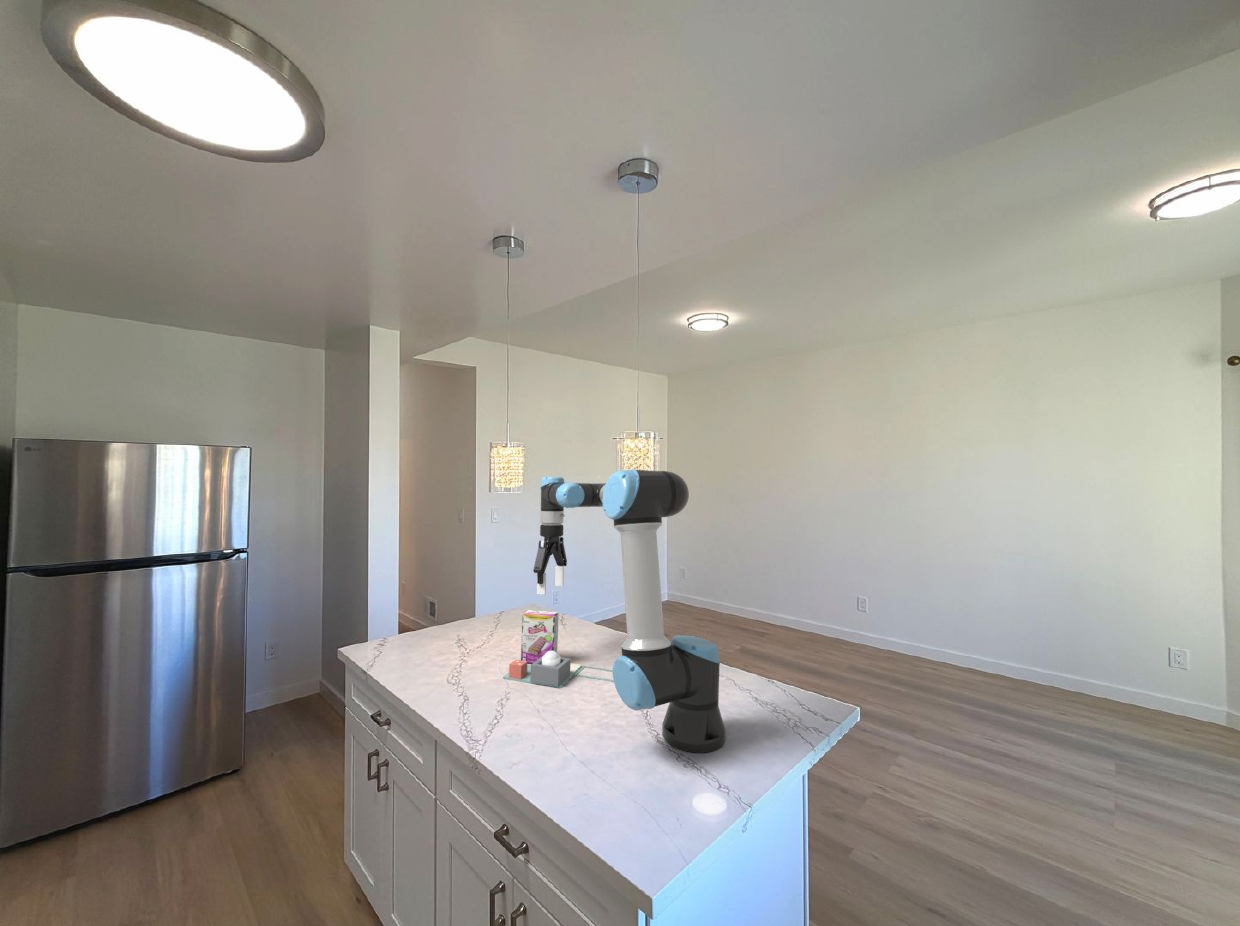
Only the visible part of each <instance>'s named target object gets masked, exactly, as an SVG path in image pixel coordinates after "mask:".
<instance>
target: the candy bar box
mask: <svg viewBox="0 0 1240 926" xmlns="http://www.w3.org/2000/svg"><path fill="white" fill-rule="evenodd" d="M559 614H560V613H559V612H558V611H557V612H556V611H545V610H537V609H536V610H535V609H534V610H533V609H526V610H525V611H524V612H523V613H522V618H521V619H522V620H521V621H522V623H521V651H520V660H521V661H528V663H527V664H533V663H534V662H535V661H537V660H538V659H539V658H541V657H542V656H543V655H545V653H546V652H548V651H555V652H557V653H558V645H559V643H558V640H559V639H558V638H559V616H560V615H559Z"/></svg>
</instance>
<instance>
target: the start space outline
mask: <svg viewBox="0 0 1240 926" xmlns="http://www.w3.org/2000/svg"><path fill="white" fill-rule="evenodd" d="M584 668H587V669H594V670H599V671H601V670H602V671H607V672H613V669H609V668H608V669H607V668H604V667H603V668H602V667H595V666H588V665H582V667H581V668H580V669H579V670H578V671H577V672H576V673H575V674H574V675H573V677H581V678H587V679H593V680H601V681H607V682H613V683H614V680H613V679H610V678H602V677H597V676H589V675H583V674H580V673H581V671H582V670H584Z"/></svg>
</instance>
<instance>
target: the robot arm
mask: <svg viewBox="0 0 1240 926" xmlns="http://www.w3.org/2000/svg"><path fill="white" fill-rule="evenodd" d="M689 494H690V492H689V487H688V484H687V483H686V481H685V480H684V479H683V478H682V477H681V476H680V475H679V474H677V473H674V472H672V471H667V470H645V469H634V468H633V469H623V470H617V471H616V472H613V473H612V474H611V475H610V476H609V478H608V479H607V482H604V483H598V482H597V483H589V482H587V483H585V482H584V483H583V482H565V478H563V477H561V476H543V477H542V478H541V484H540V515H539V516H540V518H539V519H540V520H539V523H540V524H541V525H540V527H539V535H540V536H541V537H543V540H539V541H538V547H537V552H536V556H535V561H534V566H533V570H532V571H533V573H534V574H536V595H546V593H547V592H546V591H547V590H546V589H547V587H546V586H547V573H546V569H547V566H548V563H549V561H550V558H551V556H553V558H554V561H555V564H556V565H555V573H554V575H555V577H554V578H555V579H554V580H555V581H554V582H555V583H554V586H555V587H563V586H564V576H565V575H564V573H565V570H564V569H565V567H566V566H567V565H568V559H567V555H566V554H567V553H566V550H565V544H564V537H563V536H564V525H563V523H564V517H565V514H564V513H565V511H564V509H574V508H591V507H593V508H600V507H602V508H603V512H604V514H605V515H606V517H607V518H609V519H610V520H612V521H613V529H615V530H616V531H617V532H619V534H620V541H621V542H620V544H621V546H620V547H621V557H622V558H621V559H622V573H623V575H622V576H623V590H624V591H623V592H624V606H625V620H626V621H625V623H626V635H627V636H626V638H625V640H624V641H623V643H622V644H621V655H619V657H617V658H616V659H615V660H614V661H613V665H612V670H613V671H612V680H614V682H613V683H614V687H615V690H616V692H617V695H618V696H619V697H620V699H621V701H622V702H623V703H624V705H626V707H627V708H629V709H631V710H634V711H641V710H647V709H648V710H650V709H651V710H652V709H654V708H655V707H659V706H661V705H665V704H666V705H667V704H668V707H667V710H666V712H665V715H664V718H663V720H662V721H663V722H662V724H661V725H662V729H661V731H662V732H661V735H662V738H663V739H664V741H665V742H666V743H667V744H668V745H670V746H672V747H674V748H675V749H678V750H681V751H685V752H690V753H697V754H698V753H699V754H701V753H710V752H713V751H717V750H718V748H719V749H720V748H722V747H723V746H724V744H725V743H726V727H725V724H724V721H723V717H722V713H721V710H720V707H719V698H720V697H719V693H720V690H719V689H720V664H721V660H720V651H719V648H718V646H717V645H716V643H714V642H712V641H711V640H708V639H705V638H701V637H698V636H694V635H692V636H691V635H684V634H683V635H682V634H681V635H675V636H673V637H672V638H671V641H670V640H669V639H668V638H667V637H666V636H665V628H664V617H663V616H664V615H663V614H664V613H663V606H662V605H663V603H662V602H663V601H662V589H661V588H662V587H661V577H660V576H661V575H660V564H659V563H660V562H659V549H658V539H657V538H658V537H657V531H658V530H659V528H660V527H661V526H662V525H663V520H662V518H668V517H669V518H670V517H673V516H675V515H677V514H679V513H681V512H682V511H683V510H684V509H685V507H686V506H687V504H688V501H689V497H690V495H689ZM716 749H717V750H716Z"/></svg>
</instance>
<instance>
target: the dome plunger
mask: <svg viewBox="0 0 1240 926" xmlns="http://www.w3.org/2000/svg"><path fill="white" fill-rule="evenodd" d="M560 657H561V655H560V654H558V651H557V652H555V651H548V652H546V653H545V655H543V656H542V665H547V666H553V667H557V666H558V665H559V664H560Z"/></svg>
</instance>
